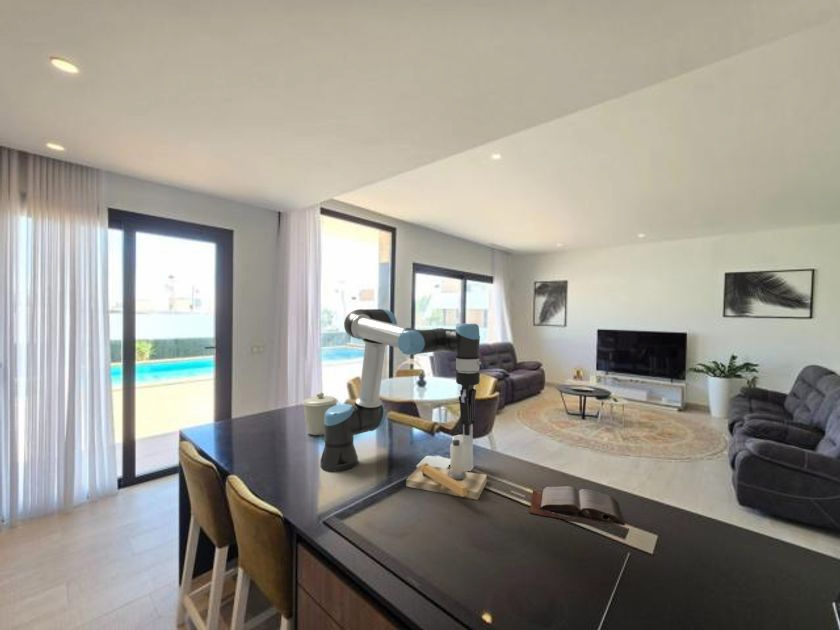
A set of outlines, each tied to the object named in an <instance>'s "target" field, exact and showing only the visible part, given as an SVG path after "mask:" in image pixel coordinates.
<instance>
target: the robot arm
mask: <svg viewBox="0 0 840 630" xmlns="http://www.w3.org/2000/svg"><path fill="white" fill-rule="evenodd" d="M343 326H344V330H345V332H346V334H347V335H348V336H349V337H351V338H354V339H357V340H362V341H363V343H364V344H365V345H364V352H363V360H362V361H363V362H362V369H361V377H360V386H359V395H358V397H356V398H355V400H354V406H353V405H352V404H347V403H343V404H337V405H336V406H333V407H331V408H329V409H328V410H327V411H326V412H325V417H324V430H325V435H324V448H323V451H322V454H321V458H320V468H321V469H322V470H324V471H327V472H343V471H346V470H347V471H348V470H350V469H352V468H354V467H356V466H357V465H358V463H359V457H358V456H359V455H358V454H357V450H356V447H355V444H354V436H356V435H360V434H363V433H368V432H373V431H375V430H377V429H379V428H381V427H382V426H383V425H384V423H385V422H386V417H387V412H386V408H385V406H384V404H383V403H382V400H381V399H380V393H381V383H382V377H383V375H382V374H383V367H384V361H385V353H386V347H387V346H391V347H394V348H397V349H399V350H400V351H401V353H402V354H404V355H406V356H407V355H412V356H413V355H414V356H415V355H419V354H428V353H436V352H454V353H455V355H456V356H455V370H456V373H455V381H456V382H455V383H456V384H458V385H461V389H460V391H459V392H460V395H459V396H458V402H459V408H460V410H459V411H460V425H462V426H463V427H462V431H463V433H462V435H463V444H465V445H472V444H473V445H474V441H473V440H474V438H473V435H474V434H473V431H474V428H473V424H476V420H475V411H476V410H475V408H476V396H477V395H476V394H477V389H475V386H476V385H479V384H480V379H481V378H480V372H479V371H480V365H482V361H480V339H481V336H480V327H479V324H477V323H457V324H456V325H455V328H453V329H452V328H443V327H440V328H439V327H437V328H432V329H415V328H411V327H409V326H408V327H407V326H403V325H399V324H398V321H397V319H396V316H395V314H394V313H393V312H392V311H391V310H388V309H385V308H383V309H382V308H377V309H376V308H374V309H373V308H371V309H365V308H364V309H363V308H362V309H361V308H359V309H356V310H353V311H351V312H349V313H348V314H347V315H346V317H345V319H344V322H343Z"/></svg>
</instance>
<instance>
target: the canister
mask: <svg viewBox="0 0 840 630" xmlns="http://www.w3.org/2000/svg"><path fill="white" fill-rule="evenodd" d="M338 402H339V399H337V398H336V397H334V396H329V395H325V394H324V392H322V391H319V392H317V393H316V396H311V397H308V398H306V399H305V400H303V401H302V402H301V404H302V405H303V411H304V412H303V413H304V419H305V425H306V431H307V433H308V434H309V435H312V436H317V435H318V436H325V430H324V417H325V412H326V411H327V410H328V409H329V408H331V407H333V406H336V405H338V404H337V403H338Z"/></svg>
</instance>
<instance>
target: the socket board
mask: <svg viewBox="0 0 840 630" xmlns="http://www.w3.org/2000/svg"><path fill="white" fill-rule="evenodd" d="M431 467H433V468H435V469H437V470H438V471H440V472H442V473H444V474H446V475H447V473H448V472H449V471H450V468H447V469H446V468H440V467H434V466H431ZM464 472H465V471H464ZM465 473H466V477H465V478H464V479H463V480H462V481H460V480H456V481H458V482H460V483H461V484H463V485H465V486H467V495H466V496H463V497H462V496H460V495H459V494H457V493H456V492H454V491H452V490H451V489H449V488H447V487H446V486H444V485H442V484H441V483H439V482H438V481H436V480H434V479H433V478H431V477H429V476H428V475H426V474H424V473H422V472H421V465H420V466H419V467H418V468H416V469H415V470H414V471H413V472H412V473H411V474H410V475H409V476H408V477H407V478H406V480H405V481H406V483H405V486H406V487H409V488H412V489H419V490H425V491H428V492H434V493H440V494H446V495H451V496H456V497H461V498H467V499H472V500H476V501H478V500H479V498H480V496H481V494H482V492H483V490H484V488H485V486H486V484H487V480H488V479H487V476H488V475H487V474H484V473H477V472H471V471H469V472H465Z"/></svg>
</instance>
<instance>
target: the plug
mask: <svg viewBox="0 0 840 630" xmlns="http://www.w3.org/2000/svg"><path fill="white" fill-rule="evenodd" d="M449 446H450V447H449V456H450V457H449V459H450V466H449V469H450V471H449V472H448V473H447V476H449V477H451V478H453V479H454V480H460V481H462V480H463V479H464V478H465V477H466V473H465V472H464V471H463V465H462V444H461V443H460V441H459V440H453V439H452V442H451V443H450V444H449Z"/></svg>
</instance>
